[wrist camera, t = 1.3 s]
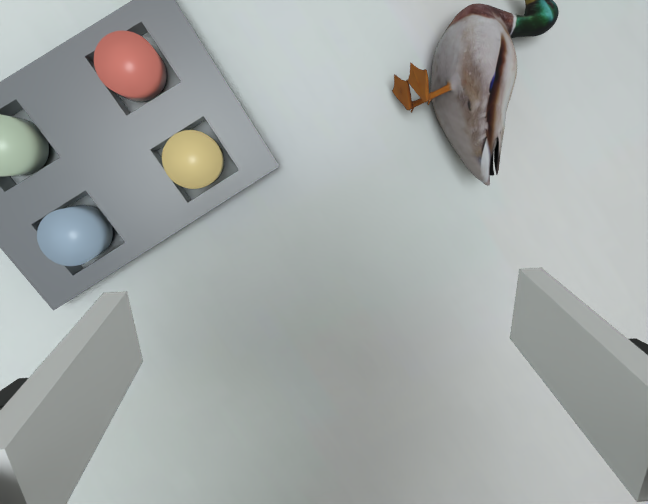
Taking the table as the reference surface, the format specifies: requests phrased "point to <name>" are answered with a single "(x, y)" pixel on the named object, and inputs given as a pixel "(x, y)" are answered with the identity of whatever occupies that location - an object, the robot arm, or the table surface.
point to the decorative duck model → (476, 78)
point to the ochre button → (192, 159)
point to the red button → (130, 66)
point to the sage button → (21, 147)
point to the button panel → (118, 146)
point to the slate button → (74, 235)
